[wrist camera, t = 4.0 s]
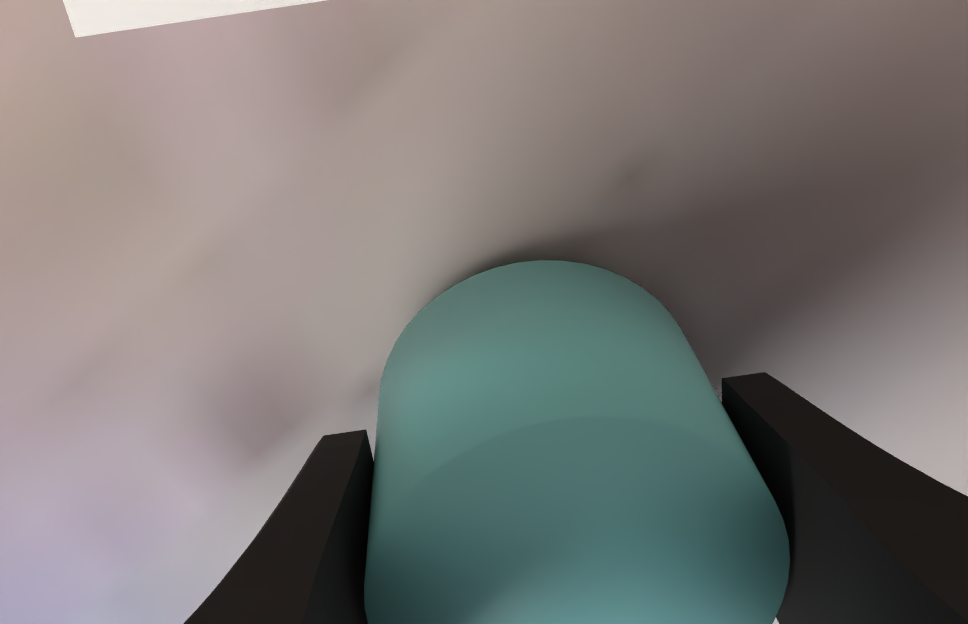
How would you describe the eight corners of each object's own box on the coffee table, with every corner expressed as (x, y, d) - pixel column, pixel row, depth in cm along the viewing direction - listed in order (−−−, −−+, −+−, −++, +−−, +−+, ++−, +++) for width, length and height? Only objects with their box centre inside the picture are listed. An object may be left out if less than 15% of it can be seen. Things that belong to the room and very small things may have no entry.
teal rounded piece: (689, 234, 13) (792, 381, 9) (702, 503, 15) (787, 703, 11) (346, 290, 13) (317, 458, 9) (411, 549, 15) (409, 762, 12)
